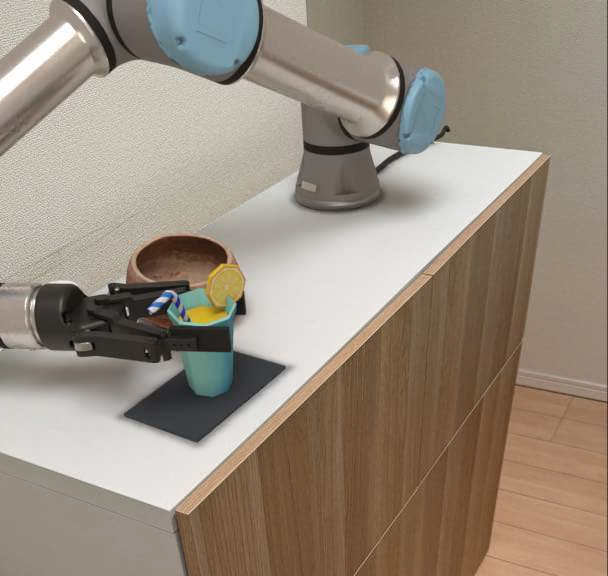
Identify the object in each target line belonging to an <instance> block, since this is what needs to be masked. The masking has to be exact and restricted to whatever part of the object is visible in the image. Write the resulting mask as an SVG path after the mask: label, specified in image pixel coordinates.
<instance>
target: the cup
mask: <svg viewBox="0 0 608 576" xmlns="http://www.w3.org/2000/svg"><path fill="white" fill-rule="evenodd" d="M246 282H247V279H246V277H245V275H244V273H243V271H242V270H241V267H240V266H239V265H238V266H237V265H233V264H221V265H220V266H219V267H217V268H216V269H215V270H214V271H213V272H212V273H211V274H210V275H209V276H208V281H207V286H206V289H201V288H198V289H195V290H192V291H189V292H186V293H183V294H180V295H178V294H177V293H175V292H174V291H171V290H166V291H165V292H164V293H163V294H162V295H161V296H160V297H159V298H157V299H156V300H155V301H154V302H153V303H152V304H151V305H150V306H149V307H148V308H147V312H148V313H149V314H150V315H153V314H154V313H155V312H156V311H157V310H159V309H160V308H161V307H162V306H163V305H164V304H165V303H166V302H167V301H168V300H169V299H170V298H171V299H172V301H173V302H172V304H171V305H170V307H169V309H168V310H167V312H168V315H169V319H170V320H171V321H172V322H173V325H176V326H228V327H229V330H230V338H231V346H232V350H231V353H230V352H188V351H179V352H180V356H181V361H182V364H183V368H184V369H185V372H186V376H187V380H188V384H189V386H190V387H191V389H192V390H193V391H194V392H195V393H196V394H197V395H203V396H210V397H214V396H217V395H219V394H222V393H225V392H227V391H228V390H229V388H230V386H231V383H232V381H233V351H234V331H235V329H234V328H235V327H234V326H235V325H234V324H235V316H236V315H235V313H236V305H237V304H236V302H237V301H238V300H239V299H240V298H241V297H242V295H243V291H245V285H246Z"/></svg>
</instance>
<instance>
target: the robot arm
mask: <svg viewBox="0 0 608 576" xmlns="http://www.w3.org/2000/svg"><path fill="white" fill-rule="evenodd" d="M48 10H49V11H48V13H49V15H48V16H49V17H48V18H47V19H45V20H44V21H43V22H42V23H41V24H40V25H38V26H37V27H36V28H35V29H34V30H32V31H31V32H30V33H29V34H28V35H27V36H26V37H25V38H23V39H22V40H21V41H20V42H19V43H18V44H17V45H16V46H14V47H13V48H12V49H11V50H9V51H8V52H7V53H6V54H5V55H4V56H2V57H1V59H0V158H1V157H3V156H4V155H5V154H6V153H8V151H10V150H11V149H12V148H13V147H14V146H16V145H17V143H18V142H19V141H21V140H22V139H23V138H24V137H26V136H27V134H29V133H30V132H31V131H32V130H33V129H35V128H36V126H38V125H39V124H40V123H42V121H44V119H46V118H47V117H48V116H49V115H51V113H53V112H54V111H55V110H56V109H57V108H58V107H59V106H61V104H63V103H64V102H65V101H66V100H67V99H68V98H70V96H72V95H73V94H74V93H75V92H76V91H77V90H79V88H81V87H82V86H83V85H84V84H85V83H87V82H88V80H90V79H91V78H92V77H96V78H99V79H104V78H106V77H107V76H108V75H109V74H110V73H112V72H113V71H114V70H115V69H116V68H118V67H120V66H122V65H124V64H126V63H129V62H133V61H140V60H141V61H145V62H149V63H154V64H158V65H163V66H166V67H171V68H175V69H178V70H180V71H184V72H186V73H189V74H192V75H194V76H197V77H200V78H202V79H206V80H208V81H211V82H213V83H216V84H219V85H222V86H231V85H234V84H237V83H238V82H240V81H241V80H244V81H247V82H249V83H251V84H254V85H257V86H259V87H261V88H264V89H267V90H268V91H271V92H274V93H276V94H279V95H281V96H284V97H287V98H289V99H291V100H294V101H296V102H299V103H300V111H301V112H300V114H301V128H302V139H303V140H302V142H303V143H302V144H303V153H302V157H301V161H300V165H299V169H298V173H297V178H296V182H295V190H294V191H295V192H294V193H295V200H296V201H297V203H299V204H300V205H302V206H304V207H306V208H309V209H313V210H319V211H346V210H347V211H348V210H354V209H358V208H362V207H366V206H368V205H371V204H372V203H374V202H375V201H377V200H378V198H379V197H380V195H381V194H380V193H381V192H380V189H381V188H380V187H381V185H380V180H379V177H378V173H379V172H380V171H382V170H383V169H384V168H385V167H386V166H387V165H388V164H389V163H391V162H392V161H393V160H395V159H397V158H399V157H402V156H403V155H408V154H410V155H419V154H422V153H423V152H425V151H426V150H427V149H429V147H430V146H431V144H432V143H434V142H437V141H438V140H440V139H442V138H443V137H444V136H445V135H446V133H450V132H451V127H449V126H448V125H447V124H446V125H443V127H442V124H443V122H444V118H445V113H446V105H447V95H446V94H447V89H446V85H445V81H444V79H443V77H442V75H441V74H440V73H439V72H437V71H435V70H434V69H430V68H429V67H426V66H425V67H422V68H421V67H417V66H413V65H410V64H407V63H406V62H403V61H401V60H400V59H398V58H395V57H394V56H392V55H390V54H387V52H384V51H380V50H372V51H371V47H370V46H369V45H367V44H363V43H362V44H349V45H347V44H346V45H344V44H342V43H340V42H338V41H336V40H334V39H332V38H331V37H328V36H326V35H324V34H322V33H320V32H318V31H316V30H314V29H312V28H310V27H308V26H307V25H304V24H302V23H300V22H299V21H297V20H294V19H292V18H291V17H289V16H287V15H284V14H283V13H281V12H279V11H277V10H275V9H273V8H271V7H270V6H267V5H265V4H264V1H263V0H51V2H50V3H49V9H48ZM441 127H442V130H441V131H440V129H441ZM371 145H374V146H377V147H382V148H385V149H389V150H392V151H393V150H394V151H396V152H395V153H393V154H391V155H389V156H388V157H386V158H385V159H384V160H383V161H382V162H381V163H379V164H378V165H377V166H375V162H374V159H373V156H372V151H371ZM41 283H42V282H0V349H5V350H29V351H30V352H34V351H36V350H37V351H39V350H41V351H43V350H47V349H48V350H49V351H63V352H65V351H66V352H75V354H76V356H77V357H78V358H87V357H88V358H90V357H101V358H108V359H109V358H110V359H117V360H124V361H133V362H142V363H150V364H158V363H160V362H161V361H162V360H163V362H168V361H171V360H172V359H173V354H172V352H180V351H188V352H230V353H231V350H232V346H231V338H230V330H229V327H228V326H176V325H171V326H170V328H169V329H168V330H166V329H165V328H160V327H157V326H153V325H149V324H145V323H141V322H138V320H141V319H145V318H147V317H153V316H159V315H164V314H168V312H167V310H168V309H169V307H170V305H171V304H172V302H173V301H172V299H171V298H170V299H169V300H168V301H167V302H166V303H165V304H164V305H163V306H162V307H161V308H160V309H159V310H157V311H156V312H155V313H154V314H153V315H150V314H149V313H148V312H147V308H148V307H149V306H150V305H151V304H152V303H153V302H154V301H155V300H156V299H157V298H159V297H160V296H161V295H162V294H163V293H164V292H165V291H166V290H171V291H174V292H175V293H177V294H178V295H180V294H183V293H186V292H189V291H192V290H191V288H190V282H189V281H187V280H179V281H163V282H148V283H132V284H126V283H124V282H110V283H108V284H107V289H108V292H107V293H102V294H101V293H100V294H97V295H90V296H89V295H87V294H86V293H83V292H84V291H83V292H82V291H81V289H80V288H79V287H78V286H76V285H75V284H65V283H47V284H44V285H42V284H41ZM236 304H237V305H236V313H235V315H234V316H246V315H247V304H246V295H245V290H243V295H242V297H241V298H240V299H239V300H238V301H237V302H236ZM127 310H128V311H127ZM168 331H169V333H168ZM161 357H162V358H161Z"/></svg>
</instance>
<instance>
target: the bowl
mask: <svg viewBox="0 0 608 576" xmlns="http://www.w3.org/2000/svg"><path fill="white" fill-rule="evenodd" d="M221 264H233V265H237V266H239V263H238V261H237V259H236V257H235V255H234V253H233V251H232V250H230V248H229V247H228V246H227V245H226V244H225V243H224V242H222V241H220V240H217V238H213V237H212V236H208V235H204V234H199V233H195V232H194V233H193V232H173V233H166V234H161V235H158V236H155V237H152V238H151V239H149V240H147V241H145V242H144V243H142V244H141V245H140V246H138V247H137V248H136V249H135V250H134V251H133V253H132V254H131V255H130V258H129V261H128V264H127V268H126V273H125V284H132V283H148V282H163V281H179V280H187V281H189V282H190V288H191V290H195V289H198V288H201V289H206V286H207V281H208V276H209V275H210V274H211V273H212V272H213V271H214V270H215V269H216V268H217V267H219V266H220V265H221ZM144 319H145V320H146V321H148V322H150V323H151V324H153V325H156V326H159V327H161V328H163V329H168V330H169V328H170V326H171V325H173V322H172V321H171V320H170V319H169V315H168V314H164V315H159V316H153V317H147V318H144Z"/></svg>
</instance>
